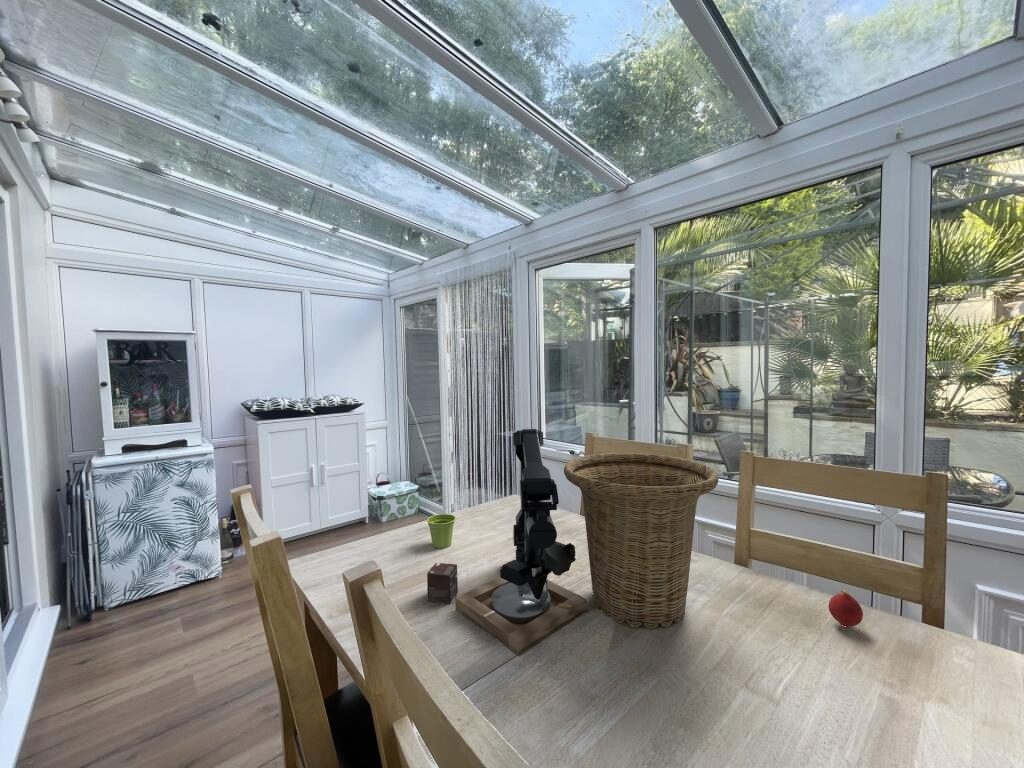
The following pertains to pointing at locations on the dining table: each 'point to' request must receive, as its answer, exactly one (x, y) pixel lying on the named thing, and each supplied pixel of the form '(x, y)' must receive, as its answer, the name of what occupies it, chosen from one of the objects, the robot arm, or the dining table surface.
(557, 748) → the dining table surface
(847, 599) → the onion
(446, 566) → the box
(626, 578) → the wicker basket
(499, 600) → the grey metal bowl
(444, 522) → the plant pot
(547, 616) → the square wooden tray
